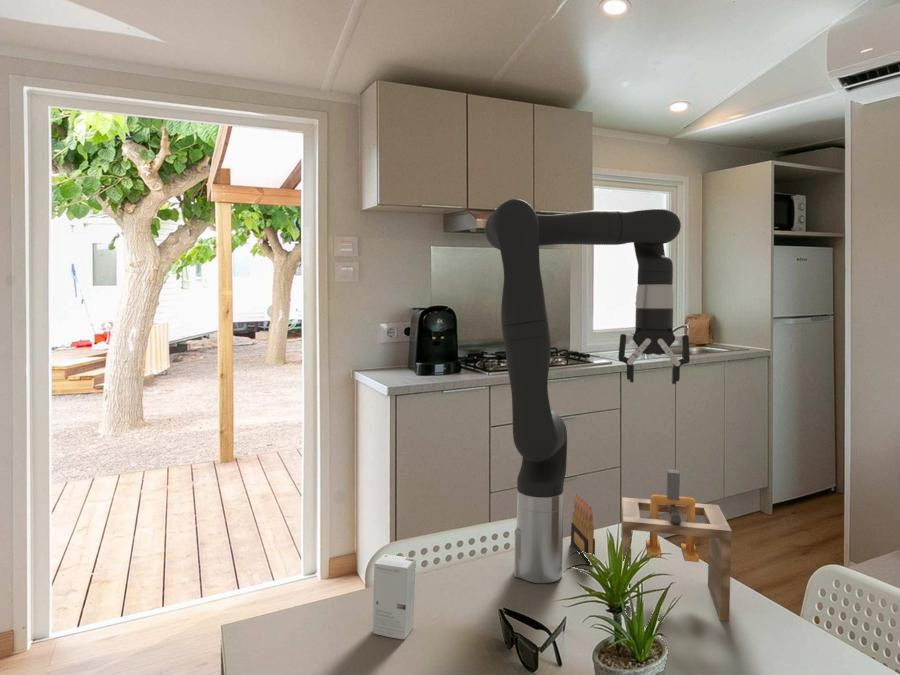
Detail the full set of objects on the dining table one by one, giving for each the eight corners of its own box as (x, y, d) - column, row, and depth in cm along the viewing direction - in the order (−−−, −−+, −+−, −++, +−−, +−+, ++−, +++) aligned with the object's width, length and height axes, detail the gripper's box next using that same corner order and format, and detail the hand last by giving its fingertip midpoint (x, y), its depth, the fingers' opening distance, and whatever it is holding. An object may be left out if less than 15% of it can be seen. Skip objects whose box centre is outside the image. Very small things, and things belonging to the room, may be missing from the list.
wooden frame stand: (621, 607, 111) (623, 512, 110) (620, 574, 125) (622, 489, 124) (729, 621, 107) (732, 521, 106) (716, 585, 120) (718, 496, 119)
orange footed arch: (647, 556, 113) (649, 473, 112) (645, 545, 119) (647, 465, 118) (698, 562, 111) (701, 477, 110) (694, 549, 117) (696, 469, 116)
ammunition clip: (595, 563, 130) (596, 507, 130) (586, 563, 130) (587, 508, 129) (578, 543, 141) (579, 492, 140) (570, 543, 141) (571, 492, 140)
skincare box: (371, 634, 102) (371, 563, 101) (382, 621, 106) (382, 552, 106) (406, 641, 100) (406, 568, 100) (416, 627, 105) (416, 557, 104)
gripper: (619, 306, 128) (618, 384, 129) (692, 306, 124) (690, 386, 125) (619, 306, 135) (617, 379, 136) (688, 306, 132) (686, 382, 132)
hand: (652, 382), depth 131 cm, fingers open, 8 cm apart
